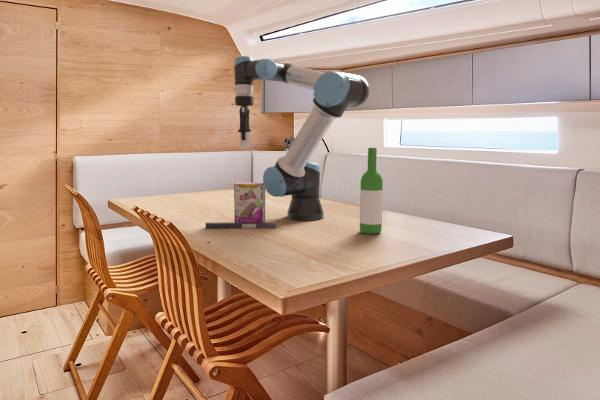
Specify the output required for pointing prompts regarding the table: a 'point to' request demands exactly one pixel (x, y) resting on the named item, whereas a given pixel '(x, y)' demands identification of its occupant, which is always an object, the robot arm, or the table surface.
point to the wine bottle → (371, 197)
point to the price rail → (240, 225)
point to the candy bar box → (249, 202)
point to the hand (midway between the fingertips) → (245, 148)
